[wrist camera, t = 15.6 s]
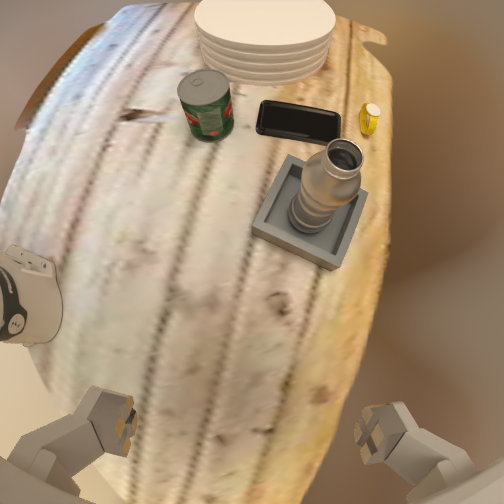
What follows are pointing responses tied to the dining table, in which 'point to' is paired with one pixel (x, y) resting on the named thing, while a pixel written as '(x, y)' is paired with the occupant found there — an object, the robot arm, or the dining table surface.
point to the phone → (298, 122)
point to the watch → (373, 113)
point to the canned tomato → (207, 104)
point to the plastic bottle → (326, 185)
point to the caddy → (300, 243)
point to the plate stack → (265, 38)
